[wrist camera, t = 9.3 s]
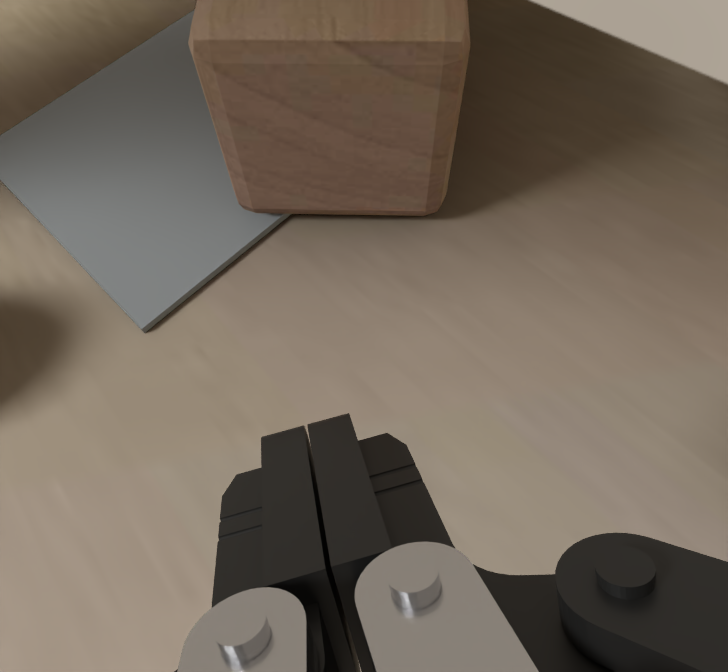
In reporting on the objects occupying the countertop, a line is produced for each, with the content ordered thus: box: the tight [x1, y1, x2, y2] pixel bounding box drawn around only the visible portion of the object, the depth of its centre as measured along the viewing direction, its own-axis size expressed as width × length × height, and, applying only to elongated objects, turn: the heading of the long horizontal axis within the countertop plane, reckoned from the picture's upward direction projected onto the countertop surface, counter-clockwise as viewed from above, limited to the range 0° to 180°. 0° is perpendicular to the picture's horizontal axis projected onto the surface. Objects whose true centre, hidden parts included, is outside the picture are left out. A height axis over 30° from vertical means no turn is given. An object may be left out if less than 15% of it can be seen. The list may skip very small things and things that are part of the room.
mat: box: [0, 10, 291, 333], centre depth 32 cm, size 15×16×1 cm
